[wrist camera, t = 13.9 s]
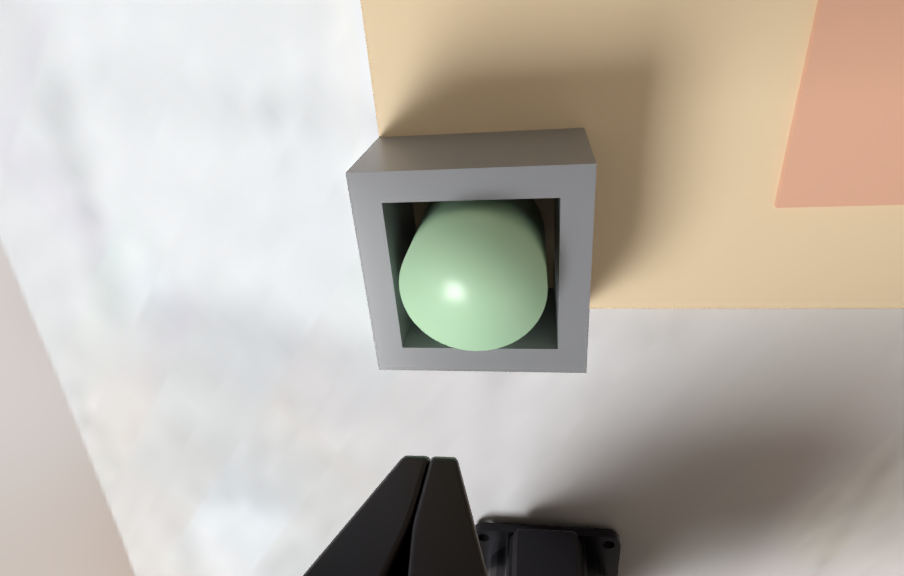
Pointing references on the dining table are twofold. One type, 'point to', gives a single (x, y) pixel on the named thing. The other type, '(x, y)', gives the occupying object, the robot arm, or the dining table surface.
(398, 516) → the robot arm
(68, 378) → the dining table surface
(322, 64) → the dining table surface
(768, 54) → the picture board
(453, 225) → the button
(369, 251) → the button housing
